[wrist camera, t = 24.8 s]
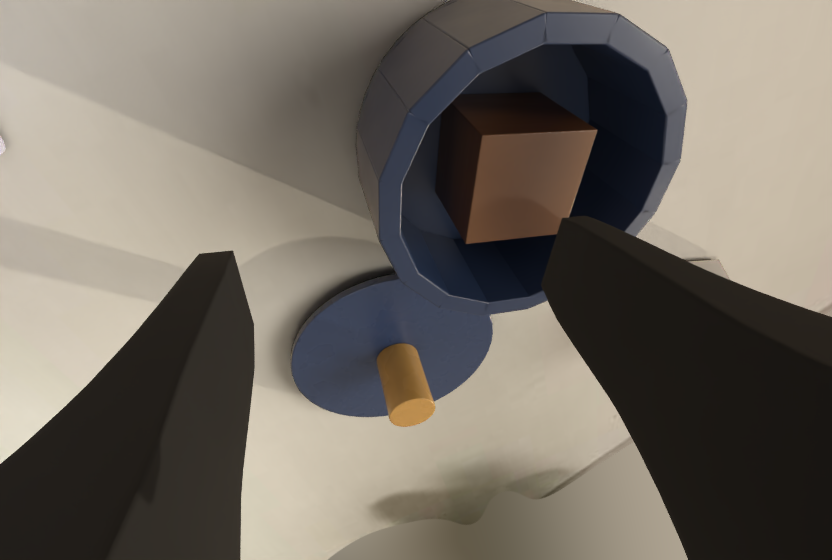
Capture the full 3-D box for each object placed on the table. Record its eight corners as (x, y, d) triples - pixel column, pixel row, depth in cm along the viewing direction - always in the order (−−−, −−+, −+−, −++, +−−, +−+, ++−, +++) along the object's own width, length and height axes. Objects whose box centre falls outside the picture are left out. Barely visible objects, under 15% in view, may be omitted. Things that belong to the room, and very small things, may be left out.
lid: (304, 418, 29) (308, 490, 26) (274, 280, 21) (273, 357, 18) (472, 386, 32) (498, 448, 28) (502, 254, 24) (544, 315, 20)
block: (434, 191, 20) (465, 244, 17) (443, 94, 17) (482, 135, 14) (519, 185, 21) (564, 233, 18) (540, 91, 18) (598, 129, 15)
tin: (360, 256, 22) (379, 331, 18) (348, -17, 14) (377, 8, 10) (560, 234, 24) (616, 296, 20) (638, -7, 17) (750, 15, 13)
